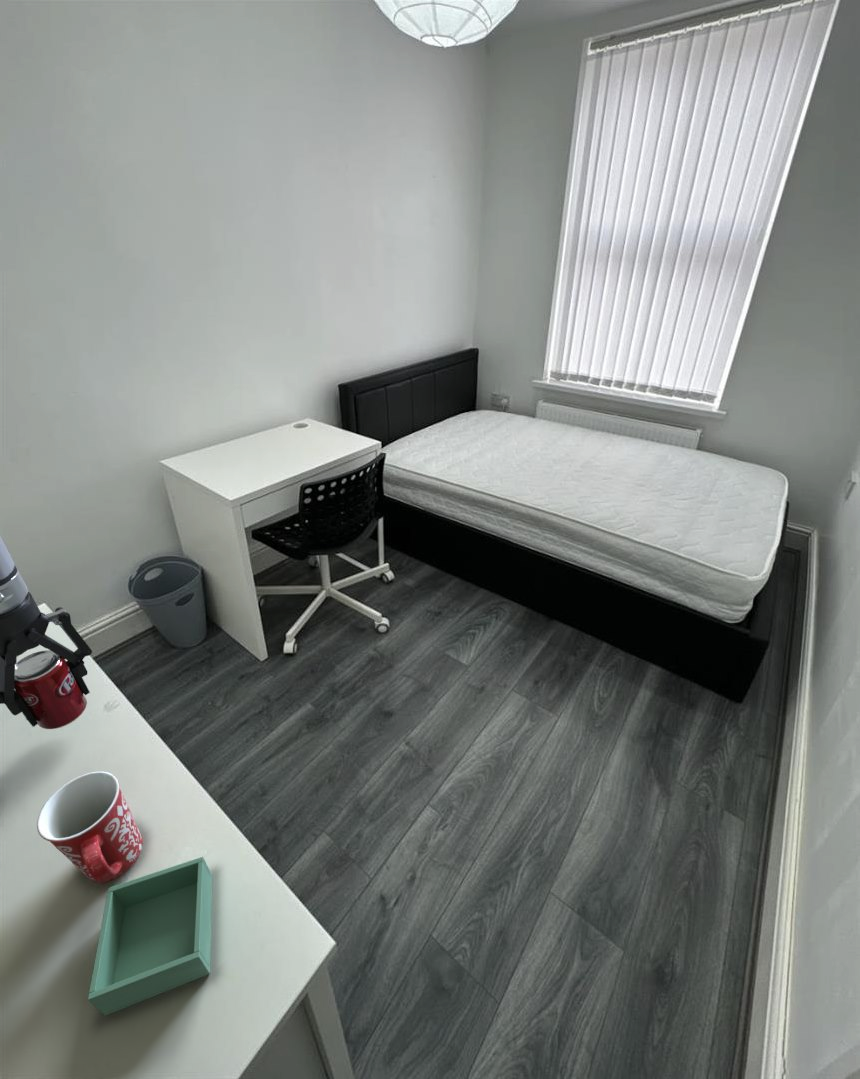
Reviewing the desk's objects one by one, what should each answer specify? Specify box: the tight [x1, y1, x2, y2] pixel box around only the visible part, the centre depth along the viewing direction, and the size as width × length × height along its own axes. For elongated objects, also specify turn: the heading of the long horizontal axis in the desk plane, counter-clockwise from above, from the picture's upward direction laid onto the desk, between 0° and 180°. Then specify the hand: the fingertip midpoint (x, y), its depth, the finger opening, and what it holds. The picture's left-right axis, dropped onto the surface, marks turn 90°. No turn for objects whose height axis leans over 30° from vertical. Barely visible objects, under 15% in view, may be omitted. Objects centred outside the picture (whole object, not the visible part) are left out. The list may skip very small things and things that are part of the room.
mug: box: [36, 771, 144, 884], centre depth 64 cm, size 13×9×14 cm
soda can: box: [14, 649, 88, 730], centre depth 80 cm, size 7×7×12 cm
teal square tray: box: [87, 856, 213, 1016], centre depth 59 cm, size 11×11×6 cm
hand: (58, 704), depth 82 cm, fingers closed on soda can, 7 cm apart
